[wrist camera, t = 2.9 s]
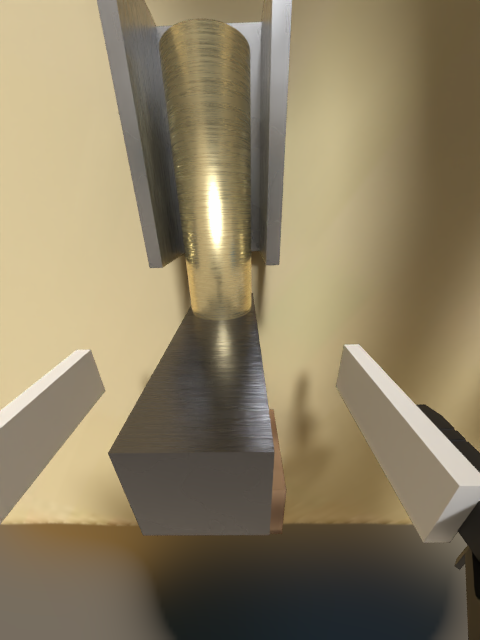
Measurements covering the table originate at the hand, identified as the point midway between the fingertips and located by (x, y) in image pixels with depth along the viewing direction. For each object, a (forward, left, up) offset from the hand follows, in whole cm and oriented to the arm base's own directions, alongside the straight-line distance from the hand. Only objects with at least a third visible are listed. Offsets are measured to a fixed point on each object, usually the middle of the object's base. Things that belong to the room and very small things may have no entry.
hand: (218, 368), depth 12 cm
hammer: (-2, 0, -6) cm, 7 cm away
